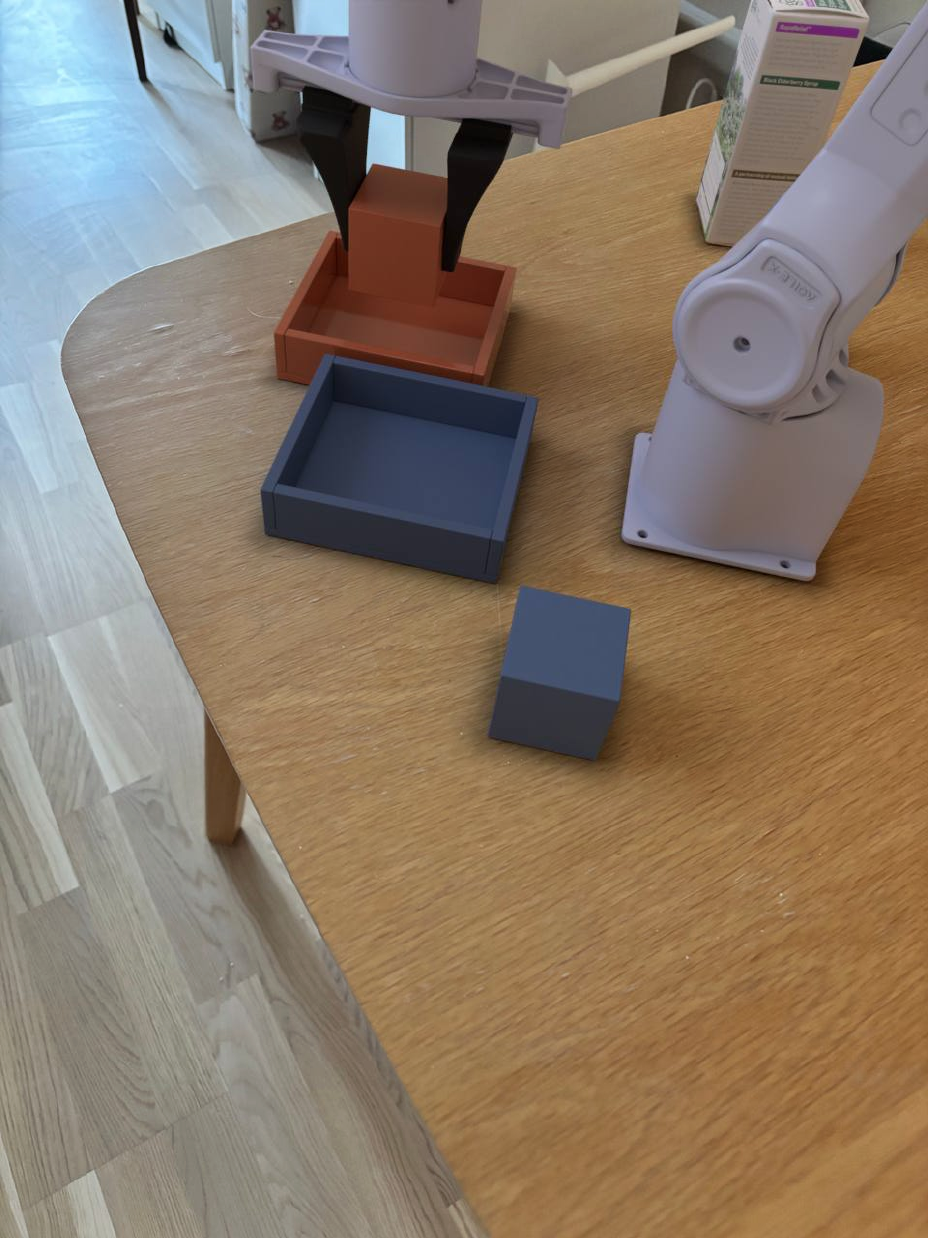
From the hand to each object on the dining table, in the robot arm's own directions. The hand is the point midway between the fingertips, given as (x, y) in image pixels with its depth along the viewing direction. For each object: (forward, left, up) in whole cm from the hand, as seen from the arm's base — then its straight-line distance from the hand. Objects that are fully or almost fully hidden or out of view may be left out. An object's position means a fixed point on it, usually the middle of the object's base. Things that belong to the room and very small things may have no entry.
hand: (403, 251), depth 51 cm
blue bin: (-3, +11, -6) cm, 13 cm away
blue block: (-12, +22, -6) cm, 26 cm away
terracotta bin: (0, 0, -6) cm, 6 cm away
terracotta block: (0, 0, -1) cm, 1 cm away
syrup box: (-19, -20, -6) cm, 28 cm away
